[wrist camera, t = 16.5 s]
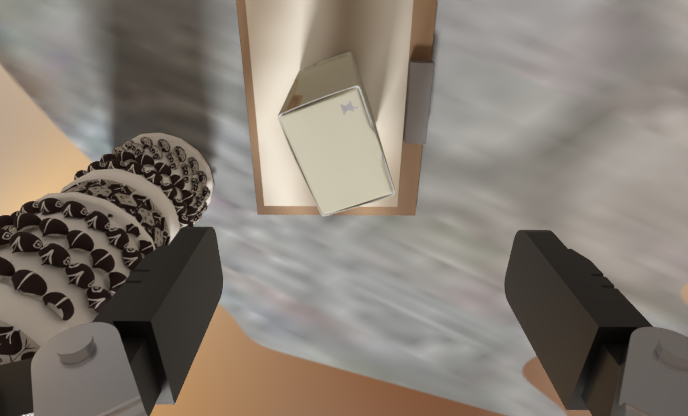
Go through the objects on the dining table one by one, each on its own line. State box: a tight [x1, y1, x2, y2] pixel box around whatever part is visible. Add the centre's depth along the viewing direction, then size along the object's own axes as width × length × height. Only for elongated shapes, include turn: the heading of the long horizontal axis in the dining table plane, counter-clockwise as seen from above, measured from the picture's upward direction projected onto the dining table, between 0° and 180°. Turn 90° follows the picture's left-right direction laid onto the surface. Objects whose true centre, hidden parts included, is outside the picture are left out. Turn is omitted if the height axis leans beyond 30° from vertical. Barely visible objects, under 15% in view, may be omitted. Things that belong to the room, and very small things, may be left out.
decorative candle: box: [0, 132, 214, 365], centre depth 24 cm, size 9×9×25 cm
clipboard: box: [236, 0, 437, 215], centre depth 31 cm, size 14×20×2 cm
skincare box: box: [278, 52, 395, 216], centre depth 25 cm, size 6×4×12 cm
